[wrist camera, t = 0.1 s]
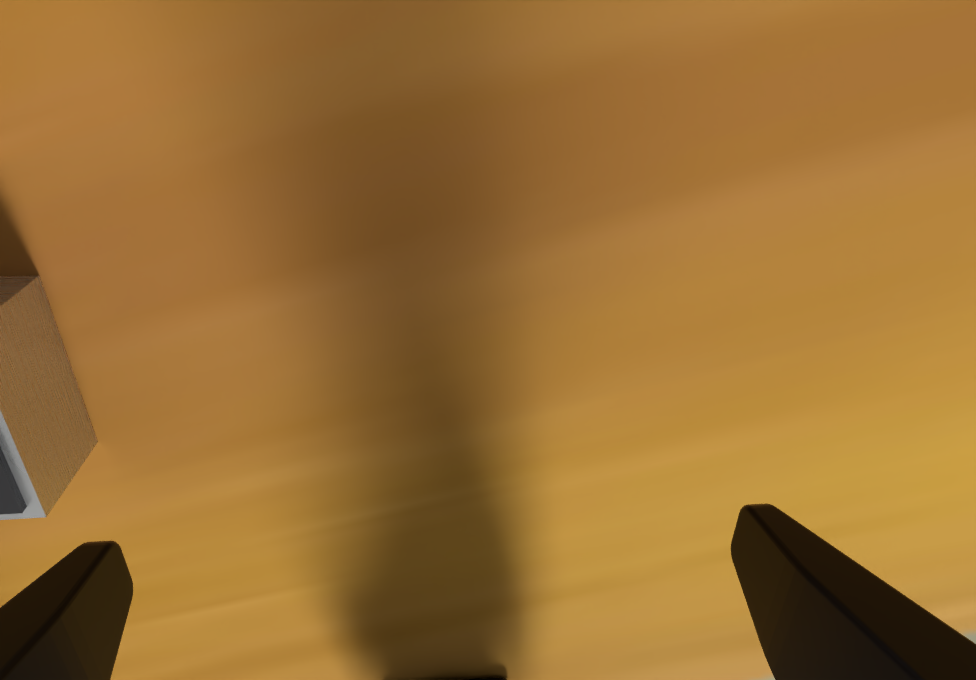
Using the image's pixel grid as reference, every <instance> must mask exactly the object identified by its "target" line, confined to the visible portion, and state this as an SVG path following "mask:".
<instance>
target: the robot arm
mask: <svg viewBox="0 0 976 680" xmlns="http://www.w3.org/2000/svg"><path fill="white" fill-rule="evenodd" d="M731 556H732V560H733V563H734V566H735V569H736V572H737V575H738V578H739V581H740V584H741V587H742V590H743V593H744V596H745V599H746V602H747V605H748V608H749V611H750V614H751V617H752V620H753V623H754V626H755V629H756V632H757V635H758V638H759V641H760V643H761V646H762V649H763V651H764V654H765V657H766V659H767V662H768V664H769V666H770V669H771V671H772V673H773V675H774V678H775V680H976V644H974V643H973V642H972V641H970V640H969V639H968V638H966V637H965V636H963V635H962V634H960V633H959V632H957V631H956V630H954V629H953V628H952V627H950V626H949V625H947V624H946V623H944V622H943V621H941V620H940V619H938V618H937V617H935V616H934V615H933V614H931V613H930V612H928V611H927V610H925V609H924V608H922V607H921V606H919V605H918V604H917V603H915V602H914V601H912V600H911V599H909V598H908V597H906V596H905V595H903V594H902V593H900V592H899V591H898V590H896V589H895V588H893V587H892V586H890V585H889V584H887V583H886V582H884V581H883V580H881V579H880V578H879V577H877V576H876V575H874V574H873V573H871V572H870V571H868V570H867V569H865V568H864V567H863V566H861V565H860V564H858V563H857V562H855V561H854V560H852V559H851V558H849V557H848V556H846V555H845V554H844V553H842V552H841V551H839V550H838V549H836V548H835V547H833V546H832V545H830V544H829V543H828V542H826V541H825V540H823V539H822V538H820V537H819V536H817V535H816V534H814V533H813V532H811V531H810V530H809V529H807V528H806V527H804V526H803V525H801V524H800V523H798V522H797V521H795V520H794V519H792V518H791V517H790V516H788V515H787V514H785V513H784V512H782V511H781V510H779V509H778V508H776V507H775V506H773V505H771V504H751V505H745V506H743V507H742V509H741V510H740V513H739V516H738V520H737V524H736V527H735V531H734V535H733V538H732V542H731ZM132 596H133V582H132V578H131V576H130V573H129V570H128V567H127V564H126V561H125V559H124V556H123V553H122V550H121V548H120V546H119V544H117V543H116V542H114V541H98V542H87V543H84V544H82V545H80V546H78V547H77V548H76V549H74V550H73V551H72V552H71V553H69V554H68V555H67V556H66V557H64V558H63V559H62V560H60V561H59V562H58V563H57V564H55V565H54V566H53V567H52V568H50V569H49V570H48V571H46V572H45V573H44V574H43V575H41V576H40V577H39V578H38V579H36V580H35V581H34V582H32V583H31V584H30V585H29V586H27V587H26V588H25V589H24V590H22V591H21V592H20V593H18V594H17V595H16V596H15V597H13V598H12V599H11V600H10V601H8V602H7V603H6V604H4V605H3V606H2V607H1V608H0V680H110V678H111V675H112V671H113V667H114V664H115V660H116V656H117V653H118V649H119V645H120V641H121V638H122V634H123V630H124V627H125V623H126V619H127V616H128V612H129V608H130V604H131V601H132ZM475 680H506V679H505V678H488V679H475Z"/></svg>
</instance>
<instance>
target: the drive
mask: <svg viewBox="0 0 976 680" xmlns="http://www.w3.org/2000/svg"><path fill="white" fill-rule="evenodd" d="M97 442H98V441H97V438H96V435H95V433H94V430H93V427H92V424H91V421H90V418H89V416H88V413H87V410H86V407H85V404H84V401H83V398H82V396H81V393H80V390H79V387H78V384H77V381H76V378H75V376H74V373H73V370H72V367H71V364H70V361H69V358H68V356H67V353H66V350H65V347H64V344H63V341H62V339H61V336H60V333H59V330H58V327H57V324H56V321H55V319H54V316H53V313H52V310H51V307H50V304H49V301H48V299H47V296H46V293H45V290H44V287H43V284H42V282H41V279H40V276H39V275H36V276H0V520H6V519H23V518H40V517H47V515H48V514H49V512H50V511H51V510H52V508H53V507H54V505H55V504H56V502H57V501H58V499H59V498H60V496H61V495H62V493H63V492H64V491H65V489H66V488H67V486H68V485H69V483H70V482H71V480H72V479H73V477H74V476H75V474H76V473H77V472H78V470H79V469H80V467H81V466H82V464H83V463H84V461H85V460H86V458H87V457H88V456H89V454H90V453H91V451H92V450H93V448H94V447H95V445H96V444H97Z"/></svg>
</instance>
